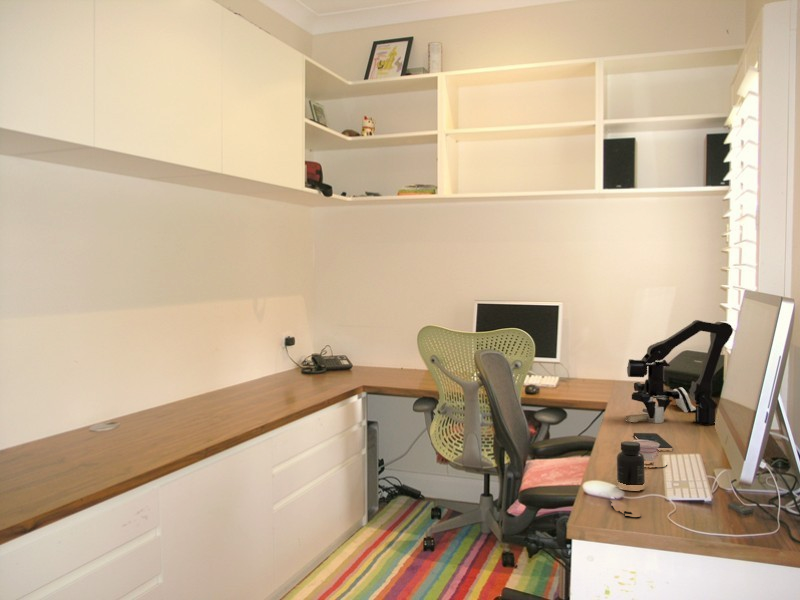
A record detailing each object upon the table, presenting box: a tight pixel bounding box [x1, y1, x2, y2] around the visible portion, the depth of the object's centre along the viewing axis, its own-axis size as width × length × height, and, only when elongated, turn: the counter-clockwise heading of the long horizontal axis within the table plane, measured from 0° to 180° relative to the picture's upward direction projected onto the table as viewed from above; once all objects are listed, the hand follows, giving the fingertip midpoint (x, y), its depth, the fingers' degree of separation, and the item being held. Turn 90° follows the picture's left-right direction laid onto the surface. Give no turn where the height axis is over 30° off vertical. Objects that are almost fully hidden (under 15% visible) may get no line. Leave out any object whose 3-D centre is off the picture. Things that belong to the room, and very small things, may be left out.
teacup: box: [631, 439, 660, 461], centre depth 191 cm, size 12×12×6 cm
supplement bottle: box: [616, 440, 646, 485], centre depth 168 cm, size 7×7×12 cm
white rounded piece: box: [673, 387, 696, 413], centre depth 272 cm, size 17×5×10 cm, turn 167°
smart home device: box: [633, 432, 674, 449], centre depth 214 cm, size 8×2×20 cm
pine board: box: [624, 413, 649, 423], centre depth 249 cm, size 4×13×2 cm, turn 111°
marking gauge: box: [642, 404, 665, 424], centre depth 249 cm, size 8×4×6 cm, turn 20°
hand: (655, 417), depth 247 cm, fingers closed on marking gauge, 4 cm apart
